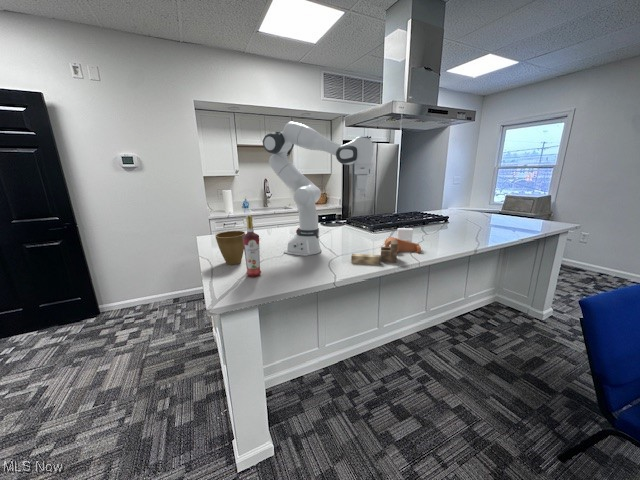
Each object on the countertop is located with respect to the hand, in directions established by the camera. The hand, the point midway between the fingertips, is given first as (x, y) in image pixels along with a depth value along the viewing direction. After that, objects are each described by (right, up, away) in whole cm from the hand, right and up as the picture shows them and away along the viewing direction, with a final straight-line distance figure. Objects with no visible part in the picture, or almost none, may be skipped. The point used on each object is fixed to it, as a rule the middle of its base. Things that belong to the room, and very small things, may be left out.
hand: (362, 197), depth 137 cm
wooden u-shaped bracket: (+15, -33, +5) cm, 36 cm away
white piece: (+30, -27, +26) cm, 48 cm away
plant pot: (-69, -34, +4) cm, 77 cm away
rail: (+1, -34, +1) cm, 34 cm away
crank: (+26, -29, +19) cm, 44 cm away
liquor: (-53, -39, -13) cm, 67 cm away
